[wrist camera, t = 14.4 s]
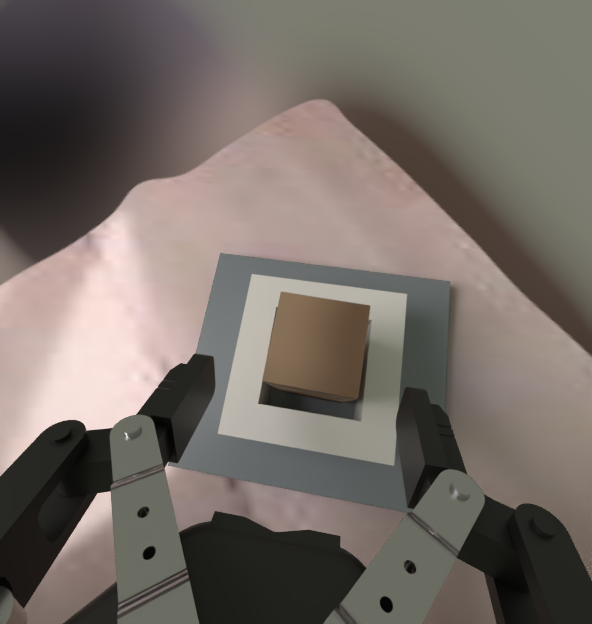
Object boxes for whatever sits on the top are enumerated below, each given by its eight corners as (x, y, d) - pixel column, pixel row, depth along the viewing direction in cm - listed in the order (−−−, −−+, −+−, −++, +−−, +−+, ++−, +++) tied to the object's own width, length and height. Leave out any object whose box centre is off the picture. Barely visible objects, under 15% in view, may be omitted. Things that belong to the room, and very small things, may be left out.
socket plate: (174, 463, 23) (137, 477, 19) (223, 258, 28) (204, 226, 23) (435, 514, 22) (469, 544, 17) (445, 286, 26) (474, 258, 21)
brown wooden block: (284, 392, 23) (262, 380, 14) (295, 337, 24) (280, 291, 15) (341, 403, 23) (357, 399, 13) (349, 347, 24) (370, 305, 14)
